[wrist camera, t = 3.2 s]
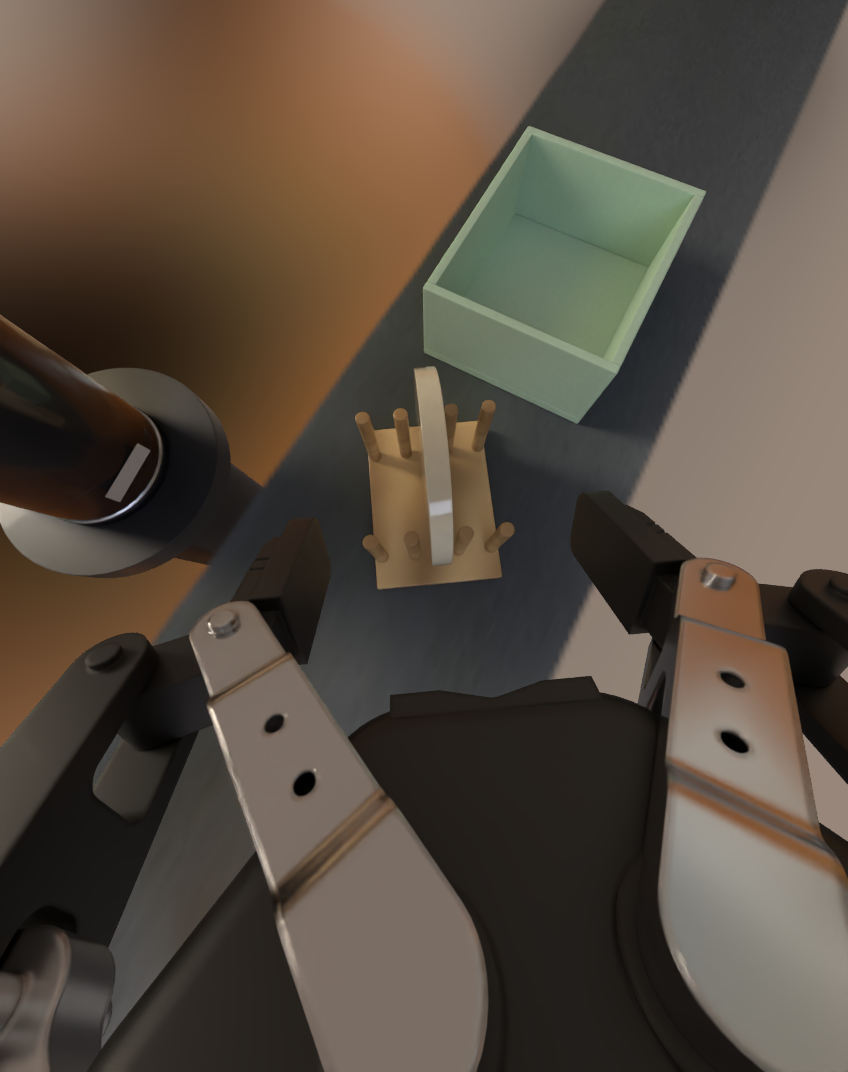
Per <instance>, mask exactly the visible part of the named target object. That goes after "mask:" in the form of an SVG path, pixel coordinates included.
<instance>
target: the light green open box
mask: <svg viewBox="0 0 848 1072" xmlns="http://www.w3.org/2000/svg"><path fill="white" fill-rule="evenodd" d="M705 194H706V191H703V190H701V189H698V188H695V187H693V186H690V185H687V184H684V183H682V182H679V181H676V180H674V179H671V178H668V177H666V176H663V175H660V174H657V173H655V172H652V171H649V170H647V169H644V168H641V167H638V166H636V165H633V164H630V163H628V162H625V161H622V160H620V159H617V158H614V157H611V156H609V155H606V154H603V153H601V152H598V151H595V150H592V149H590V148H587V147H584V146H582V145H579V144H576V143H574V142H571V141H568V140H565V139H563V138H560V137H557V136H555V135H552V134H549V133H546V132H544V131H541V130H538V129H536V128H533V127H530V126H528V127H527V129H526V131H525V132H524V134H523V135H522V137H521V138H520V140H519V141H518V143H517V144H516V146H515V147H514V149H513V151H512V152H511V154H510V155H509V157H508V158H507V160H506V161H505V163H504V164H503V166H502V167H501V169H500V170H499V172H498V174H497V175H496V177H495V178H494V180H493V181H492V183H491V184H490V186H489V187H488V189H487V190H486V192H485V193H484V195H483V197H482V198H481V200H480V201H479V203H478V204H477V206H476V207H475V209H474V210H473V212H472V213H471V215H470V217H469V218H468V220H467V221H466V223H465V224H464V226H463V227H462V229H461V230H460V232H459V233H458V235H457V236H456V238H455V240H454V241H453V243H452V244H451V246H450V247H449V249H448V250H447V252H446V253H445V255H444V256H443V258H442V260H441V261H440V263H439V264H438V266H437V267H436V269H435V270H434V272H433V273H432V275H431V276H430V278H429V279H428V282H427V283H426V284H425V286H424V287H423V315H424V353H426V354H428V355H430V356H432V357H434V358H436V359H439V360H441V361H443V362H445V363H447V364H449V365H452V366H454V367H456V368H458V369H460V370H462V371H464V372H467V373H469V374H471V375H473V376H475V377H477V378H479V379H482V380H484V381H486V382H488V383H490V384H492V385H495V386H497V387H499V388H501V389H503V390H505V391H507V392H510V393H512V394H514V395H516V396H518V397H520V398H523V399H525V400H527V401H529V402H531V403H533V404H535V405H538V406H540V407H542V408H544V409H546V410H548V411H550V412H553V413H555V414H557V415H559V416H561V417H563V418H566V419H568V420H570V421H572V422H574V423H576V424H578V423H579V421H580V420H581V419H582V418H583V416H584V415H585V414H586V412H587V411H588V410H589V409H590V407H591V406H592V405H593V404H594V402H595V401H596V400H597V399H598V397H599V396H600V395H601V393H602V392H603V391H604V390H605V388H606V387H607V386H608V385H609V383H610V382H611V381H612V380H613V378H614V377H615V376H616V374H617V373H618V371H619V369H620V366H621V365H622V363H623V361H624V359H625V357H626V355H627V353H628V351H629V349H630V347H631V345H632V342H633V340H634V338H635V336H636V334H637V332H638V330H639V328H640V326H641V324H642V322H643V320H644V318H645V316H646V314H647V312H648V310H649V308H650V306H651V304H652V302H653V300H654V298H655V296H656V294H657V292H658V290H659V287H660V285H661V283H662V281H663V279H664V277H665V275H666V273H667V271H668V269H669V267H670V265H671V263H672V261H673V259H674V257H675V255H676V253H677V251H678V249H679V247H680V245H681V243H682V241H683V239H684V237H685V235H686V232H687V230H688V228H689V226H690V224H691V222H692V220H693V218H694V216H695V214H696V212H697V210H698V208H699V206H700V204H701V202H702V200H703V198H704V196H705Z"/></svg>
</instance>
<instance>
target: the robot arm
mask: <svg viewBox="0 0 848 1072" xmlns="http://www.w3.org/2000/svg"><path fill="white" fill-rule="evenodd" d="M168 463H169V448H168V443H167V440H166V437H165V435H164V433H163V431H162V429H161V428H160V426H159V425H158V424H157V423H156V422H155V421H154V420H153V419H152V418H150V417H149V416H147V415H146V414H145V413H143V412H142V411H140V410H139V409H137V408H135V407H133V406H131V405H129V404H128V403H126V402H125V401H123V400H122V399H121V398H119V397H118V396H116V395H115V394H113V393H112V392H110V391H109V390H108V389H106V388H105V387H104V386H102V385H101V384H99V383H98V382H96V381H95V380H94V379H92V378H91V377H89V376H88V375H86V374H85V373H83V372H82V371H80V370H79V369H78V368H76V367H75V366H73V365H72V364H70V363H69V362H67V361H66V360H64V359H63V358H62V357H60V356H59V355H57V354H56V353H54V352H53V351H52V350H50V349H49V348H47V347H46V346H44V345H43V344H41V343H40V342H39V341H37V340H35V339H34V338H33V337H31V336H30V335H28V334H27V333H25V332H24V331H23V330H21V329H20V328H18V327H17V326H15V325H14V324H12V323H11V322H10V321H8V320H6V319H5V318H4V317H2V316H1V315H0V502H1V503H5V504H9V505H13V506H16V507H20V508H24V509H27V510H31V511H35V512H39V513H43V514H47V515H51V516H55V517H57V518H59V519H62V520H65V521H68V522H72V523H76V524H81V525H87V526H100V525H107V524H111V523H115V522H117V521H120V520H123V519H125V518H127V517H129V516H131V515H132V514H134V513H135V512H137V511H138V510H140V509H141V508H142V507H143V506H145V505H146V504H147V503H148V502H149V501H150V500H151V498H152V497H153V496H154V495H155V493H156V492H157V491H158V489H159V488H160V486H161V484H162V482H163V480H164V478H165V475H166V472H167V468H168ZM571 548H572V552H573V554H574V556H575V558H576V559H577V561H578V562H579V563H580V565H581V566H582V568H583V569H584V571H585V572H586V573H587V575H588V576H589V578H590V579H591V581H592V582H593V583H594V585H595V586H596V588H597V589H598V591H599V592H600V593H601V595H602V596H603V598H604V599H605V600H606V602H607V603H608V605H609V606H610V608H611V609H612V611H613V612H614V613H615V615H616V616H617V618H618V619H619V621H620V622H621V623H622V625H623V626H624V628H625V629H626V631H627V632H628V634H640V633H649V634H650V635H651V636H652V640H651V642H650V645H649V648H648V653H647V658H646V663H645V668H644V674H643V679H642V684H641V690H640V695H639V699H638V704H636V703H634V702H632V701H629V700H626V699H624V698H621V697H617V696H614V695H609V694H606V693H600V692H599V690H598V688H597V686H596V684H595V682H594V681H593V679H592V677H591V676H585V677H575V678H565V679H554V680H544V681H540V682H537V683H534V684H531V685H529V686H526V687H523V688H521V689H518V690H515V691H512V692H510V693H507V694H504V695H501V696H499V697H494V698H490V697H482V696H475V695H468V694H461V693H454V692H447V691H440V690H439V691H429V692H418V693H408V694H397V695H390V712H387V713H385V714H382V715H380V716H378V717H376V718H374V719H372V720H370V721H369V722H367V723H366V724H364V725H362V726H361V727H359V728H358V729H357V730H356V731H355V732H353V733H352V734H351V735H350V736H349V737H347V736H346V735H345V733H344V732H343V730H342V729H341V727H340V726H339V724H338V723H337V721H336V720H335V718H334V717H333V715H332V714H331V712H330V711H329V709H328V708H327V706H326V705H325V703H324V702H323V700H322V699H321V697H320V696H319V695H318V693H317V692H316V690H315V689H314V687H313V686H312V684H311V683H310V681H309V680H308V678H307V677H306V675H305V674H304V672H303V671H302V669H301V668H300V666H299V665H301V664H307V663H308V659H309V655H310V652H311V648H312V644H313V640H314V636H315V633H316V629H317V625H318V621H319V617H320V614H321V610H322V606H323V602H324V598H325V594H326V591H327V587H328V583H329V579H330V561H329V556H328V553H327V549H326V546H325V542H324V538H323V535H322V531H321V527H320V524H319V521H318V519H317V518H316V517H313V518H302V519H292V520H290V521H289V522H288V524H287V526H286V528H285V530H284V532H283V534H282V536H281V537H274V538H273V539H272V540H270V541H269V542H268V543H267V544H266V545H264V546H263V547H262V548H261V550H260V552H259V553H258V555H257V557H256V558H255V561H254V562H253V564H252V565H251V567H250V571H248V572H247V574H246V576H245V577H244V579H243V581H242V583H241V584H240V586H239V588H238V590H237V591H236V593H235V595H234V596H233V598H232V600H231V602H230V603H226V604H223V605H220V606H218V607H216V608H214V609H212V610H210V611H209V612H207V613H206V614H204V615H203V616H202V617H201V618H200V619H199V620H197V622H196V623H195V624H194V625H193V627H192V629H191V631H190V634H189V635H187V636H184V637H181V638H178V639H174V640H171V641H168V642H165V643H162V644H159V645H156V646H153V647H152V645H151V644H150V642H149V641H148V640H147V639H146V637H145V636H144V635H142V634H139V633H125V634H120V635H117V636H114V637H111V638H109V639H106V640H104V641H102V642H100V643H98V644H96V645H95V646H93V647H92V648H90V649H88V650H87V651H86V652H84V653H83V654H82V655H81V656H79V657H78V658H77V659H76V660H75V661H74V662H73V663H72V664H71V665H70V667H69V668H68V669H67V670H66V671H65V672H64V674H63V675H62V676H61V677H60V678H59V679H58V681H57V682H56V683H55V684H54V685H53V687H52V688H51V689H50V690H49V691H48V692H47V694H46V695H45V696H44V697H43V698H42V699H41V700H40V702H39V703H38V704H37V705H36V706H35V707H34V709H33V710H32V711H31V712H30V713H29V715H28V716H27V717H26V718H25V719H24V720H23V722H22V723H21V724H20V725H19V726H18V727H17V729H16V730H15V731H14V732H13V733H12V734H11V736H10V737H9V738H8V739H7V740H6V741H5V743H4V744H3V745H2V746H1V747H0V1072H848V841H846V840H845V839H843V838H842V837H840V836H839V835H837V834H836V833H834V832H833V831H831V830H830V829H828V828H827V827H825V826H824V825H822V824H821V823H819V822H818V817H817V812H816V806H815V800H814V795H813V790H812V784H811V779H810V773H809V768H808V762H807V757H806V751H805V746H804V740H803V735H802V733H803V734H804V735H805V736H806V738H807V739H808V740H809V741H810V742H811V743H812V744H813V746H814V747H815V748H816V749H817V750H818V751H819V752H820V753H821V755H822V756H823V757H824V758H825V759H826V760H827V761H828V763H829V764H830V765H831V766H832V767H833V768H834V769H835V770H836V772H837V773H838V774H839V775H840V776H841V777H842V779H843V780H844V781H845V782H846V783H847V784H848V683H847V682H846V681H845V680H844V679H843V678H842V677H841V676H840V674H841V673H842V672H843V671H844V670H845V668H847V666H848V574H846V573H842V572H838V571H832V570H823V569H814V570H809V571H805V572H803V573H802V574H801V575H800V577H799V579H798V580H797V582H796V583H795V585H794V587H785V586H776V585H767V584H758V583H757V581H756V580H755V579H754V578H753V576H751V575H750V574H749V573H748V572H746V571H744V570H743V569H741V568H739V567H737V566H735V565H733V564H730V563H727V562H724V561H720V560H716V559H710V558H696V557H695V556H694V555H693V554H692V553H690V552H689V551H688V550H687V549H686V548H685V547H683V546H682V545H681V544H680V543H679V542H677V541H676V540H675V539H674V538H673V537H672V536H670V535H669V534H668V533H665V532H664V530H663V529H662V528H661V527H660V526H659V525H655V522H654V521H653V520H651V519H650V518H649V517H648V516H647V515H645V514H644V513H643V512H641V511H639V510H636V509H634V508H632V507H630V506H628V505H624V504H623V503H622V502H621V501H620V500H619V499H617V498H616V497H615V496H614V495H613V494H612V493H611V492H609V491H599V492H588V493H581V494H580V495H579V497H578V500H577V504H576V510H575V515H574V521H573V527H572V532H571ZM211 725H213V726H214V729H215V732H216V735H217V738H218V741H219V744H220V746H221V749H222V752H223V755H224V758H225V761H226V764H227V767H228V770H229V773H230V775H231V778H232V781H233V784H234V787H235V790H236V793H237V796H238V799H239V801H240V804H241V807H242V810H243V813H244V816H245V819H246V822H247V825H248V828H249V830H250V833H251V836H252V839H253V842H254V845H255V848H256V852H255V853H254V854H253V856H252V857H251V858H250V859H249V861H248V862H247V863H246V864H245V866H244V867H243V868H242V870H241V871H240V872H239V873H238V875H237V876H236V877H235V878H234V880H233V881H232V882H231V884H230V885H229V886H228V887H227V889H226V890H225V891H224V892H223V894H222V895H221V896H220V898H219V899H218V900H217V901H216V903H215V904H214V905H213V906H212V908H211V909H210V910H209V912H208V913H207V914H206V915H205V917H204V918H203V919H202V920H201V922H200V923H199V924H198V926H197V927H196V928H195V929H194V931H193V932H192V933H191V934H190V936H189V937H188V938H187V940H186V941H185V942H184V943H183V945H182V946H181V947H180V948H179V950H178V951H177V952H176V953H175V955H174V956H173V957H172V959H171V960H170V961H169V962H168V964H167V965H166V966H165V967H164V969H163V970H162V971H161V973H160V974H159V975H158V976H157V978H156V979H155V980H154V981H153V983H152V984H151V985H150V987H149V988H148V989H147V990H146V992H145V993H144V994H143V995H142V997H141V998H140V999H139V1001H138V1002H137V1003H136V1004H135V1006H134V1007H133V1008H132V1009H131V1011H130V1012H129V1013H128V1015H127V1016H126V1017H125V1018H124V1020H123V1021H122V1022H121V1023H120V1025H119V1026H118V1027H117V1029H116V1030H115V1031H114V1033H113V1034H112V1035H111V1037H110V1038H109V1039H108V1041H107V1042H106V1044H105V1045H104V1046H103V1048H102V1049H101V1038H102V1037H103V1035H104V1033H105V1031H106V1029H107V1027H108V1024H109V1022H110V1018H111V1014H112V1001H111V996H112V993H113V988H114V982H115V962H114V958H113V955H112V953H111V951H110V950H109V949H108V947H109V944H110V942H111V940H112V937H113V935H114V933H115V930H116V928H117V925H118V923H119V921H120V918H121V916H122V913H123V911H124V909H125V906H126V904H127V901H128V899H129V897H130V894H131V892H132V889H133V887H134V885H135V882H136V880H137V878H138V875H139V873H140V870H141V868H142V866H143V863H144V861H145V858H146V856H147V854H148V851H149V849H150V846H151V844H152V842H153V839H154V837H155V835H156V832H157V830H158V827H159V825H160V823H161V820H162V818H163V815H164V813H165V811H166V808H167V806H168V803H169V801H170V799H171V796H172V794H173V791H174V789H175V787H176V784H177V782H178V780H179V777H180V775H181V772H182V770H183V768H184V765H185V763H186V760H187V758H188V756H189V753H190V751H191V748H192V746H193V744H194V741H195V739H196V737H197V734H198V732H199V730H201V729H203V728H206V727H208V726H211ZM116 734H118V735H119V736H120V737H121V738H122V740H121V742H120V744H119V746H118V747H117V749H116V751H115V752H114V754H113V756H112V757H111V759H110V761H109V763H108V764H107V766H106V768H105V769H104V771H103V773H102V774H101V776H100V778H99V780H98V781H97V783H96V785H95V786H94V788H93V787H92V783H93V776H94V773H95V770H96V768H97V766H98V764H99V762H100V760H101V759H102V757H103V756H104V754H105V752H106V751H107V749H108V747H109V746H110V744H111V742H112V741H113V739H114V738H115V736H116Z"/></svg>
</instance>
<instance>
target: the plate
mask: <svg viewBox="0 0 848 1072" xmlns="http://www.w3.org/2000/svg"><path fill="white" fill-rule="evenodd" d="M414 391H415V405H416V418H417V431H418V442H419V454H420V465H421V476H422V486H423V497H424V507H425V517H426V526H427V536H428V544H429V553H430V560H431V565H432V566H444V565H451V564H452V560H453V546H454V528H453V501H452V485H451V471H450V459H449V448H448V437H447V428H446V419H445V411H444V404H443V397H442V391H441V385H440V380H439V376H438V372H437V370H436V367H435V366H430V367H419V368H414Z"/></svg>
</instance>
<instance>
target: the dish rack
mask: <svg viewBox="0 0 848 1072" xmlns="http://www.w3.org/2000/svg"><path fill="white" fill-rule="evenodd" d="M495 410H496V405H495V403H494V402H493V401H491V400H486V401H484V402H483V403H482V406H481V410H480V414H479V418H478V421H471V422H460V423H457V416H458V407H457V406H456V405H455V404H451V403H450V404H447V405H446V406H445V407H444V411H445V419H446V428H447V437H448V448H449V459H450V471H451V485H452V501H453V528H454V546H453V560H452V564H451V565H444V566H432V565H431V560H430V553H429V544H428V536H427V526H426V517H425V507H424V497H423V486H422V476H421V465H420V454H419V442H418V431H417V427H409V422H408V413H407V411H406V410H405V409H402V408H399V409H397V410H395V412H394V414H393V417H394V423H395V429H385V430H373V426H372V423H371V420H370V416H369V415H368V414H367V413H366V412H360V413H358V414H357V415H356V418H355V420H356V423H357V426H358V428H359V431H360V433H361V436H362V439H363V441H364V444H365V446H366V449H367V452H368V457H369V472H370V487H371V502H372V517H373V533H374V535H367V536H366V537H365V538H364V539H363V546H364V548H365V549H366V550H367V551H368V552H369V553H370V554H371V555H372V556H373V557H374V558H375V563H376V578H377V589H379V590H382V589H393V588H403V587H414V586H424V585H434V584H445V583H455V582H466V581H476V580H487V579H497V578H500V577H502V571H501V564H500V557H499V550H498V548H499V547H500V546H501V545H502V544H503V543H504V542H506V541H507V540H508V539H509V538H510V537H511V536H512V535H513V534H514V532H515V528H514V526H513V524H511V523H510V522H504V523H502V524H501V525H500V526H499V527H498V528H497V530H496V528H495V521H494V514H493V507H492V500H491V493H490V486H489V479H488V471H487V464H486V457H485V450H484V443H485V440H486V437H487V434H488V431H489V428H490V425H491V422H492V419H493V416H494V413H495Z"/></svg>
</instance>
